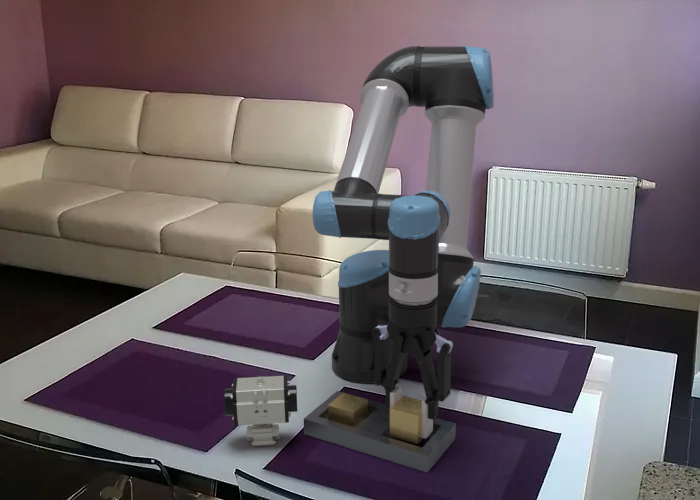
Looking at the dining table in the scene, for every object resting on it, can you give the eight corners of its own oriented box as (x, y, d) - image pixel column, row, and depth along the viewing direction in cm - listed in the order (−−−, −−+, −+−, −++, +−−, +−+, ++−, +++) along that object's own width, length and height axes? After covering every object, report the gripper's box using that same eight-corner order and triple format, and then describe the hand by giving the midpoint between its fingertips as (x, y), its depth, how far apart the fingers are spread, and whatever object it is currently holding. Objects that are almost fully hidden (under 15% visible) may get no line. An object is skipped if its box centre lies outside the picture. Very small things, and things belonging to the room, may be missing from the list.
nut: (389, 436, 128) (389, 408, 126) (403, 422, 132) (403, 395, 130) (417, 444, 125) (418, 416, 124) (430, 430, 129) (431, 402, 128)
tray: (304, 434, 134) (303, 418, 133) (337, 405, 143) (337, 390, 142) (427, 472, 123) (427, 456, 122) (455, 439, 132) (455, 423, 131)
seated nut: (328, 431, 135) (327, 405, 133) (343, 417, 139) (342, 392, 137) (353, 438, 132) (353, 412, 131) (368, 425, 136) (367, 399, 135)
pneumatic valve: (229, 436, 134) (224, 372, 130) (298, 432, 134) (295, 368, 131) (227, 454, 128) (222, 388, 125) (298, 450, 129) (296, 384, 125)
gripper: (350, 294, 123) (351, 426, 130) (457, 316, 114) (453, 456, 121) (373, 280, 129) (373, 406, 136) (477, 299, 120) (471, 433, 127)
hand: (411, 429), depth 129 cm, fingers closed on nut, 5 cm apart
